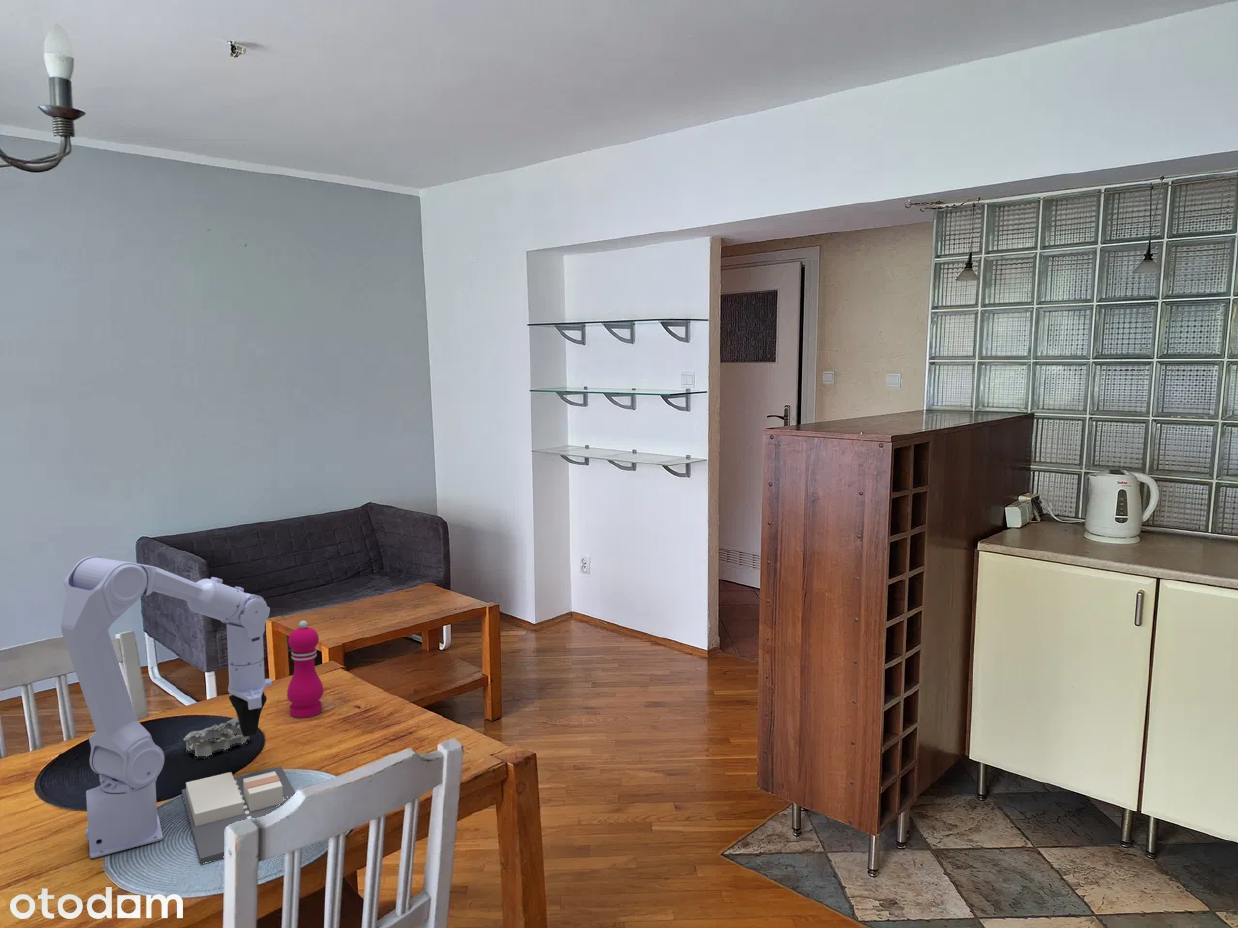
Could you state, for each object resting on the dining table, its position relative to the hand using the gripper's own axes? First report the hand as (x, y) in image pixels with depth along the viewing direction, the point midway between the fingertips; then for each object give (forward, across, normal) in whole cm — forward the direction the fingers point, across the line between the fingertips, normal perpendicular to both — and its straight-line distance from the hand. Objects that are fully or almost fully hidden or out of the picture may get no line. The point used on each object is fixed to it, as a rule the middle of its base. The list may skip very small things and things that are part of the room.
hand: (249, 734), depth 147 cm
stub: (+7, -12, 0) cm, 13 cm away
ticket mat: (+8, -13, +3) cm, 15 cm away
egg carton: (+8, +16, +3) cm, 19 cm away
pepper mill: (+8, +24, -15) cm, 30 cm away
